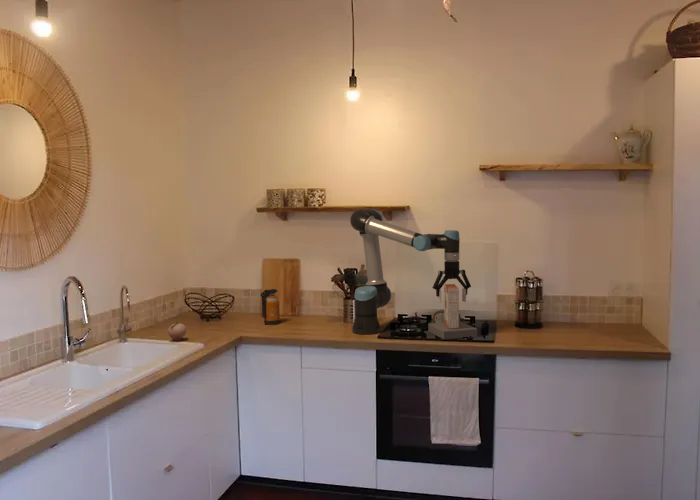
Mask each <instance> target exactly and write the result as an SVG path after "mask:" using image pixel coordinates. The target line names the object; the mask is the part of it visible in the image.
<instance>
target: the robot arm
mask: <svg viewBox="0 0 700 500" xmlns="http://www.w3.org/2000/svg"><path fill="white" fill-rule="evenodd" d="M349 220H350V226H351V227H352V228H353V229H354V230H355V231H357V232H359V236H360V237H362V242H363V250H364V258H365V260H364V261H365V266H366V267H365V268H366V276H367V282H366V283H365V285H364V286H360V287H357V288H356V289H355V291H354V311H355V312H354V321H353V324H352V326H351V329H352V330H351V332H352V333H353V334H358V335H374V334H375V335H376V334H379V333H381V331H382V330H381V329H382V328H381V325H380V321H379V318H378V309H379V308H384V307H385V306H387V305H388V304H389V303H390V301H391V300H392V291H391V289H390V287H388V283H387V281H386V280H385V278H384V273H383V272H384V271H383V265H382V264H383V262H382V255H381V247H380V239H379V237H383V238H386V239H387V240H391V241H394V242H397V243H400V244H403V245H406V246H409V247H412V248H414V249H415V250H417V251H419V252H426V251H429V250H439V249H442V250H444V254H443V255H444V268H443V270H438V273H437V276H436V279H435V281H434V283H433V286H432V289H434V290H435V293H436V294H435V295H436V297H437V303H439V304H442V290H441V289H442V288H443V287H444V284H446V282H447V281H449V280H453V279H454V280H457V281H458V282H459V284H460V285H461V286H462V288H461V291H462V293H461V294H462V295H461V296H462V297H461V301H462V302H465V303H466V302H467V295H468V290H469V288H471V287H472V285H471V283H470V280H469V278H468V276H467V273H466V270H465V269H460V261H459V260H460V242H461V241H460V240H461V239H460V231H459V230H453V229H452V230H450V229H449V230H444V233H442V234H441V233H439V234H438V233H437V234H436V233H425V234H423V233H419V232H416V231H413V230H410V229H406V228H403V227H401V226H398V225H395V224H392V223H390V222H385V221H384V219H383V215H382V214H381V212H379V211H378V210H377V209H373V208H365V209H363V208H361V209H357V210H354V212H352V214H351V215H350V218H349ZM443 275H444V276H443ZM459 275H461V276H459ZM442 277H443V278H442ZM461 277H462V278H461ZM463 280H464V281H463Z"/></svg>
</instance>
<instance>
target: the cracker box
mask: <svg viewBox="0 0 700 500" xmlns="http://www.w3.org/2000/svg"><path fill="white" fill-rule="evenodd" d="M443 291H444V293H443V295H444V300H443V301H444V310H445V324H446V326H447V328H448V329H459V314H460V305H459V304H460V303H459V300H460V298H459V297H460V295H459V291H460V290H459V287H458V286H457V285H456V284H454V283H451V284H450V283H445V284H444V285H443Z"/></svg>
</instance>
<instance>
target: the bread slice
mask: <svg viewBox="0 0 700 500" xmlns="http://www.w3.org/2000/svg"><path fill="white" fill-rule="evenodd" d="M461 318H462V317H461V314H460V313H459V321H460V322H461V320H462V319H461ZM432 319H433V322H434V323H444V322H445V309H444V310H443V309H439V310H437V311H435V312H434V313H433V315H432Z"/></svg>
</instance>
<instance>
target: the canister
mask: <svg viewBox="0 0 700 500" xmlns="http://www.w3.org/2000/svg"><path fill="white" fill-rule="evenodd" d="M278 291H279V290H277V289H276V288H271V289H264V291H262V292H261V293H260V297H261V318H263V323H264V324H265V325H268V324H274V325H277V323H278V324H279V323H281V318H280V317H281V316H280V311H281V309H280V300H279V296H278V295H277V293H278Z"/></svg>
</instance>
